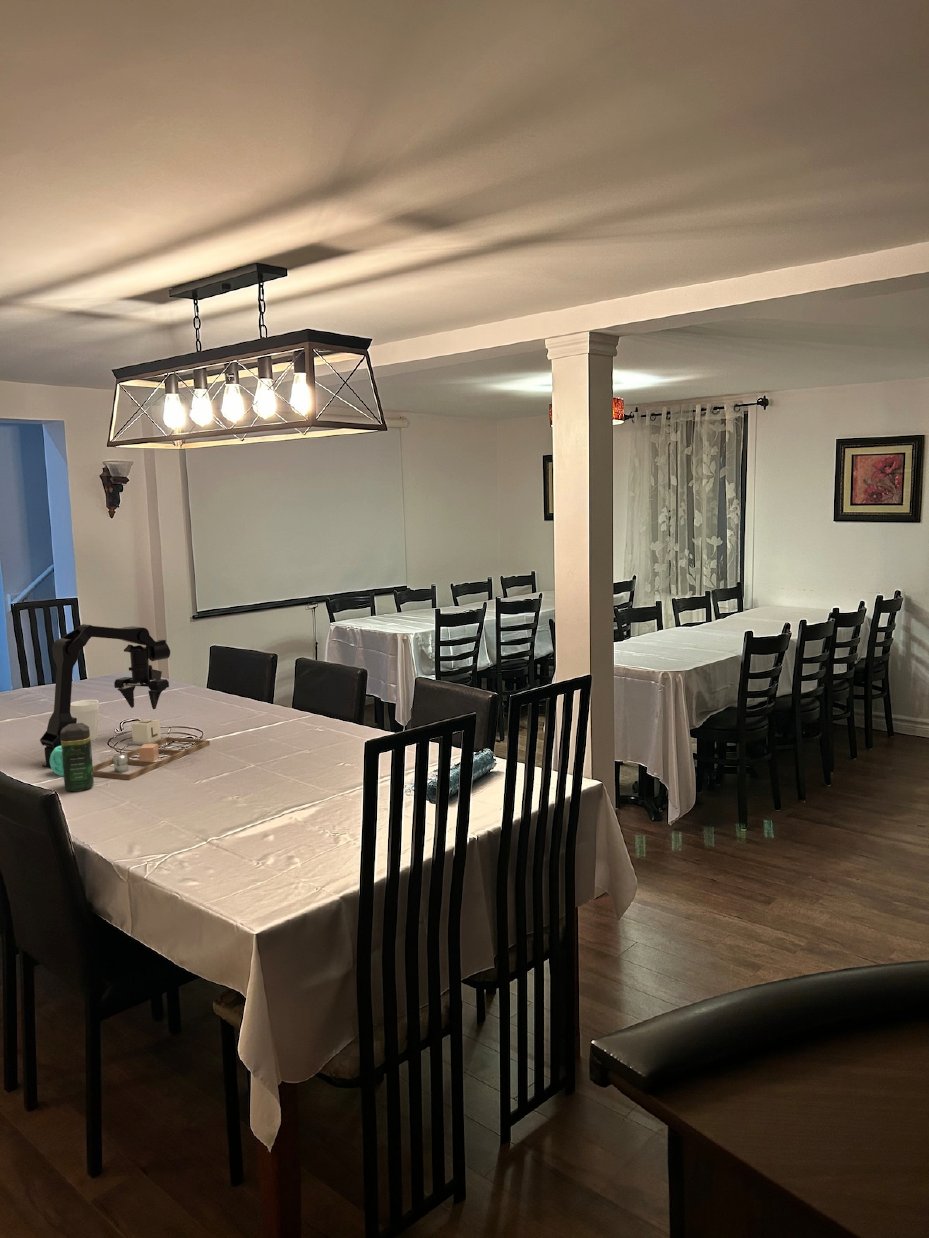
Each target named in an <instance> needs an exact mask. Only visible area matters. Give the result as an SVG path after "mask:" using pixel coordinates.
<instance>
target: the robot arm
mask: <svg viewBox="0 0 929 1238" xmlns="http://www.w3.org/2000/svg"><path fill="white" fill-rule="evenodd" d="M91 638H101V639H111V640H112V639H114V640H115V639H116V640H119V641H120V640H121V641H123V642H126V643H131V644H127V645H126V647H125V648H124V649H123V652H125V653H129V655H130V656H129V657H130V666H129V667H128V671H131V677H130V676H124V677H120V678H117V679H115V680H114V682H113V684H114V685H113V686H114V688H115V689H117V691H119V692H120V694H121V695H122V696H123V697H124V699H125V700H126V702H127V704H128V705H129V707H130V708H131V709H132V708H134V707H135V696H134V695H135V694H134V692H135V689H136V688H137V687H148V689H149V690H148V697H149V700H150V705H151V708H152V709H153V710H156V709H157V705H158V702H159V699H160V696H161V694H162V693H163V691H165V690H166V689H168V688H170V684H169V683H170V682H169V680H168V679H167V678H166V679H165V678H162V673H163V672H162V671H161V670H158V669H153V666H152V665H151V664H150V662H149V661H151V662H156V661H161V660H168V659H169V658H170V655H171V649H170V647H169V645H168V643H167V640H166V639H158V640H155V639H153V637H152V636H151V635H150V631H149V630H148V629H147V628H146V627H142V626H134V625H133V626H124V627H119V628H118V627H109V626H98V625H91V624H85V623H84V624H82V623H81V624H80V625H79V626H77V627H76V628H74V629H73V630H72V631H69V632H68V633H66V634H65V635H63V637H61V638H58V639H56V640H55V641H53V643H52V646H51V649H52V658H53V661H54V663H55V666H56V673H55V687H54V704H53V711H52V714H51V715H50V718H49V719H48V724H47V727H46V730H45V732H44V734H43V735H42V736H41V738H40V739H39V742H40V744H41V745H42V746H45V747H44V757H45V763H43V764H42V765H41V766H42V767H44V768H51V766H50V756H51V753H52V751H53V750H54V749H55V748H56V747H58V746H61V735H60V733H61V730H62V729H63V728H64V727H66V726H67V725H68V724H74V723H76V722H77V718H74V717H72V713H71V711H70V706H71V703H72V691H73V690H72V689H73V673H74V666H75V665H76V663H77V661H78V660H79V654H80V652H81V650H82V648H85V646H86V645H87V643H88V642H89V640H90V639H91ZM133 644H135V645H133ZM136 644H137V645H136Z"/></svg>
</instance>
